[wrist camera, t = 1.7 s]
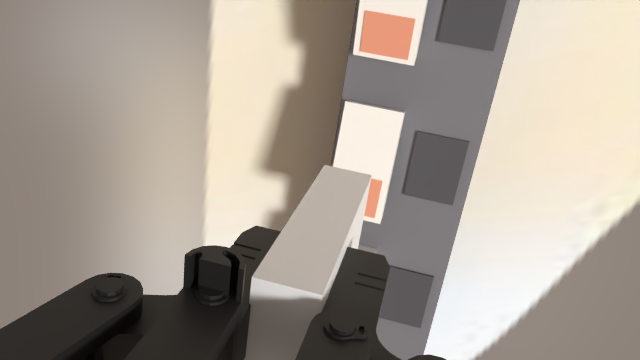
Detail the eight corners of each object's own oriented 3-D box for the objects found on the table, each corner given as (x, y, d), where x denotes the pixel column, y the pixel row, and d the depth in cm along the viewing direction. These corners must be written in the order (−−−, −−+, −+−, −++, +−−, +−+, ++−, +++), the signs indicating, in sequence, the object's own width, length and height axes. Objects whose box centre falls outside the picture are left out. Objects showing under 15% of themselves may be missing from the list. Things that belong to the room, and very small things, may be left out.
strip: (413, -286, 30) (405, -322, 26) (585, -271, 29) (604, -307, 25) (316, 307, 47) (302, 341, 43) (422, 336, 45) (418, 373, 41)
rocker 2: (349, 100, 35) (345, 101, 34) (405, 111, 35) (403, 113, 33) (328, 205, 37) (323, 211, 35) (382, 218, 36) (379, 224, 35)
